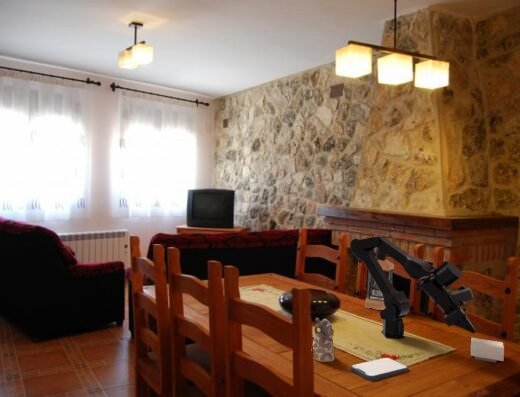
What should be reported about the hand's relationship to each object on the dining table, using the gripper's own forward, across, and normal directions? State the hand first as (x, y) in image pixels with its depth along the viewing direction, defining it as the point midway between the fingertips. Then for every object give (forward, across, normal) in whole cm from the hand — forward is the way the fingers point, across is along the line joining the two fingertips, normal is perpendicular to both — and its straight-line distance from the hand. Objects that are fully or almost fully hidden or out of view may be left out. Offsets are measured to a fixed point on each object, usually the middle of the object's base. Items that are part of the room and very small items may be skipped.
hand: (474, 332), depth 137 cm
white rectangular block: (+3, 0, +4) cm, 5 cm away
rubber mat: (+7, 0, +3) cm, 8 cm away
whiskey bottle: (-22, +42, +32) cm, 57 cm away
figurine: (-24, -27, +35) cm, 50 cm away
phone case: (-12, -28, +23) cm, 38 cm away
